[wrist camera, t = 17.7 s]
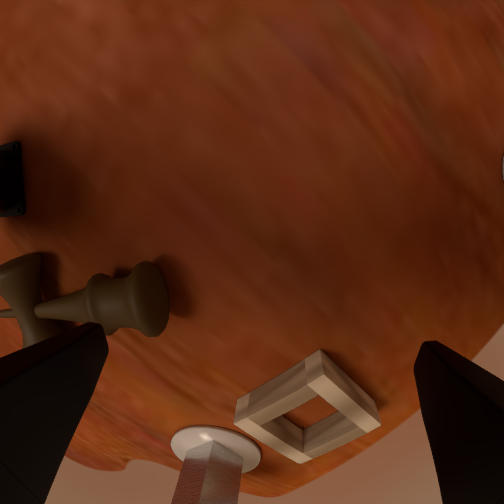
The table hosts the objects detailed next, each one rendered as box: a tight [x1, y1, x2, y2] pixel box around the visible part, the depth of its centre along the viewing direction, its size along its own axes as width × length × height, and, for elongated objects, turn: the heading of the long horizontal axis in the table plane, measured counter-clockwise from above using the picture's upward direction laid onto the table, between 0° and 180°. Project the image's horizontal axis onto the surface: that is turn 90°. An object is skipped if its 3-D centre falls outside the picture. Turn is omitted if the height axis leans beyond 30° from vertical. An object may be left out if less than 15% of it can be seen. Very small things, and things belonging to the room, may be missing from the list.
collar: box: [233, 349, 381, 464], centre depth 24 cm, size 9×9×3 cm
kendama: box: [0, 253, 170, 348], centre depth 21 cm, size 6×10×20 cm
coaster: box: [171, 425, 261, 473], centre depth 29 cm, size 10×10×1 cm
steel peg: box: [171, 440, 244, 504], centre depth 23 cm, size 4×4×12 cm
